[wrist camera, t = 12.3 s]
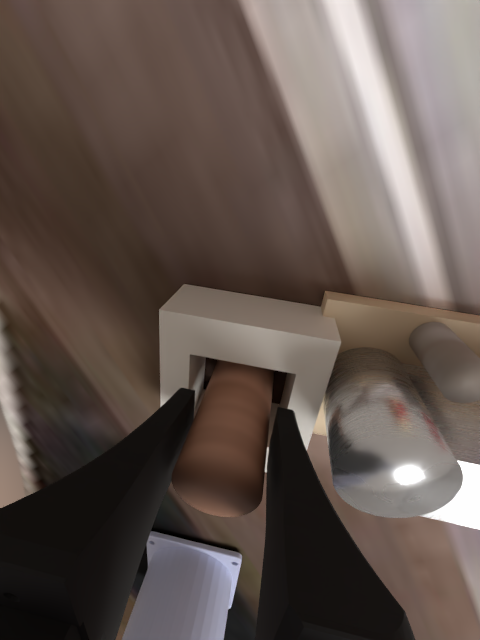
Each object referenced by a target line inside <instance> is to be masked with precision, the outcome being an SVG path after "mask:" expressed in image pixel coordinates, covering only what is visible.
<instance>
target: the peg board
mask: <svg viewBox="0 0 480 640" xmlns="http://www.w3.org/2000/svg"><path fill="white" fill-rule="evenodd" d="M321 310H322V315H323V316H325V317H331V318H335V321H336V325H337V328H338V332H339V335H340V339H341V345H340V348H339V351H338V354H340V353H342V352H344V351H347V350H350V349H354V348H361V347H371V348H377V349H381V350H384V351H387V352H389V353H391V354H392V355H394V356H395V357H396V358H397V359H398V360H399V361H400V362H401V363H405V364H411V365H416V366H422V367H424V368H425V369H426V371H427V372H428V374H429V375H430V377H431V378H432V380H433V381H434V383H435V384H436V386H437V387H438V389H439V390H440V392H441V393H442V394H443V396H444V397H445V398H446V399H448V400H450V401H452V402H456V403H471V402H475V401H478V400H480V316H479V315H473V314H467V313H461V312H455V311H448V310H442V309H436V308H430V307H424V306H418V305H411V304H405V303H399V302H393V301H387V300H380V299H374V298H368V297H362V296H356V295H350V294H343V293H337V292H331V291H325V293H324V297H323V300H322V304H321ZM338 354H337V355H338ZM312 433H315V434H320V435H325V436H327V433H326V425H325V417H324V409H323V401H322V404H321V407H320V410H319V413H318V417H317V420H316V423H315V426H314V429H313V432H312Z"/></svg>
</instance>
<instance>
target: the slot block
mask: <svg viewBox="0 0 480 640" xmlns="http://www.w3.org/2000/svg"><path fill="white" fill-rule="evenodd" d="M159 339H160V398H161V406H162V405H164V404H165V403H166V402H167V401H168V400H169V399H170V398H171V397H172V396H173V395H174V394H175V392H176V391H177V390H178V389H180V388H186V389H191V390H195V404H194V418H195V415H196V413H197V410H198V408H199V405H200V403H201V401H202V398H203V396H204V393H205V391H206V390H205V389H204V375H205V361H206V357H208V358H213V359H218V360H224V361H229V362H234V363H240V364H245V365H250V366H255V367H261V368H266V369H271V370H277V371H282V372H287V376H286V381H285V385H284V389H283V393H282V398H281V402H280V404H275V403H271V412H270V422H269V433H268V443H267V453H266V464H265V472H267V461H268V452H269V443H270V438H271V434H272V429H273V425H274V421H275V416H276V412H277V408H278V407H281V408H286V409H291V410H293V411H294V412H295V417H296V421H297V424H298V428H299V431H300V434H301V437H302V440H303V443H304V446H305V448H306V451H307V448H308V445H309V442H310V438H311V435H312V432H313V429H314V426H315V423H316V420H317V417H318V413H319V410H320V407H321V404H322V401H323V398H324V395H325V392H326V388H327V385H328V382H329V379H330V376H331V373H332V370H333V367H334V363H335V360H336V357H337V354H338V351H339V348H340V345H341V339H340V335H339V332H338V328H337V325H336V321H335V318H331V317H325V316H323V315H322V310H321V307H320V306H314V305H308V304H302V303H296V302H290V301H284V300H278V299H272V298H266V297H260V296H254V295H248V294H242V293H236V292H230V291H224V290H218V289H212V288H206V287H200V286H194V285H188V284H184V285H183V286H182V287H181V288H180V289H179V290H178V291H177V292H176V293H175V294H174V295H173V296H172V297H171V298H170V299H169V300H168V301H167V302H166V303H165V304H164V305H163V306H162V307H161V308H160V309H159Z"/></svg>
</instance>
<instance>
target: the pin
mask: <svg viewBox="0 0 480 640" xmlns="http://www.w3.org/2000/svg"><path fill="white" fill-rule="evenodd" d="M274 371H275V370H271V369H266V368H261V367H255V366H250V365H245V364H240V363H234V362H229V361H224V360H218V361H217V364H216V366H215V369H214V371H213V374H212V376H211V378H210V381H209V383H208V386H207V388H206V391H205V393H204V396H203V398H202V401H201V403H200V405H199V408H198V410H197V413H196V415H195V418H194V420H193V423H192V425H191V428H190V430H189V432H188V435H187V437H186V440H185V442H184V445H183V447H182V450H181V452H180V455H179V457H178V459H177V462H176V464H175V467H174V469H173V472H172V484H173V487H174V489H175V491H176V492H177V494H178V495H179V496H180V497H181V498H182V499H183V500H184V501H185V502H186V503H188V504H189V505H191V506H192V507H194V508H196V509H198V510H200V511H202V512H205V513H208V514H211V515H215V516H222V517H236V516H242V515H245V514H248V513H250V512H252V511H253V510H255V509H256V508H257V507H258V506H259V504H260V502H261V500H262V495H263V484H264V474H265V464H266V453H267V443H268V433H269V422H270V412H271V402H272V391H273V381H274Z"/></svg>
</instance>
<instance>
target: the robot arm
mask: <svg viewBox="0 0 480 640" xmlns="http://www.w3.org/2000/svg"><path fill="white" fill-rule="evenodd" d="M194 404H195V390H191V389H186V388H180V389H178V390H177V391H176V392H175V394H174V395H173V396H172V397H171V398H170V399H169V400H168V401H167V402H166V403H165V404H164V405H162V406H161V407H160V408H159V409H158V410H157V411H156V412H155V413H154V414H153V415H152V416H151V417H149V418H148V419H147V420H146V421H145V422H144V423H143V424H141V425H140V426H139V427H138V428H137V429H135V430H134V431H133V432H132V433H130V434H129V435H128V436H127V437H125V438H124V439H123V440H121V441H120V442H119V443H117V444H116V445H115V446H113V447H112V448H110V449H109V450H108V451H106V452H105V453H103V454H102V455H100V456H99V457H97V458H95V459H94V460H92V461H91V462H89V463H88V464H86V465H85V466H83V467H81V468H80V469H78V470H76V471H74V472H73V473H71V474H69V475H67V476H65V477H64V478H62V479H60V480H58V481H56V482H54V483H53V484H51V485H49V486H47V487H45V488H43V489H41V490H39V491H37V492H35V493H33V494H31V495H29V496H27V497H24V498H22V499H20V500H18V501H16V502H14V503H12V504H9V505H7V506H5V507H3V508H0V640H115V639H116V636H117V633H118V630H119V626H120V623H121V620H122V617H123V614H124V610H125V607H126V604H127V601H128V598H129V595H130V592H131V589H132V586H133V583H134V580H135V576H136V573H137V570H138V567H139V564H140V561H141V559H142V556H143V553H144V550H145V547H146V544H147V559H148V570H147V572H146V575H145V578H144V581H143V583H142V586H141V589H140V591H139V594H138V597H137V600H136V602H135V605H134V608H133V611H132V613H131V616H130V619H129V621H128V624H127V627H126V630H125V632H124V635H123V638H122V640H224V633H225V626H226V620H227V613H228V609H230V608H231V606H232V601H233V597H234V592H235V588H236V584H237V579H238V575H239V570H240V566H241V562H242V555H241V554H240V553H238V552H235V551H231V550H227V549H222V548H218V547H214V546H210V545H206V544H202V543H198V542H194V541H190V540H186V539H182V538H178V537H174V536H170V535H166V534H162V533H158V532H154V531H151V529H152V527H153V524H154V521H155V518H156V515H157V513H158V510H159V508H160V505H161V503H162V500H163V498H164V496H165V494H166V491H167V489H168V487H169V485H170V483H171V480H172V472H173V469H174V467H175V464H176V462H177V459H178V457H179V455H180V452H181V450H182V447H183V445H184V442H185V440H186V437H187V435H188V432H189V430H190V428H191V425H192V423H193V420H194ZM255 640H415V638H414V635H413V632H412V629H411V626H410V624H409V621H408V618H407V616H406V613H405V611H404V610H403V608H402V607H401V606H400V605H399V603H398V602H397V601H396V599H395V598H394V597H393V596H392V594H391V593H390V592H389V590H388V589H387V588H386V586H385V585H384V584H383V582H382V581H381V580H380V578H379V577H378V576H377V574H376V573H375V571H374V570H373V569H372V567H371V566H370V564H369V563H368V562H367V560H366V559H365V557H364V556H363V554H362V553H361V551H360V550H359V548H358V547H357V545H356V544H355V542H354V541H353V539H352V537H351V536H350V534H349V533H348V531H347V530H346V528H345V527H344V525H343V523H342V522H341V520H340V518H339V517H338V515H337V513H336V511H335V510H334V508H333V506H332V504H331V502H330V500H329V499H328V497H327V495H326V493H325V491H324V489H323V487H322V485H321V483H320V481H319V479H318V477H317V474H316V472H315V470H314V468H313V465H312V463H311V461H310V458H309V456H308V453H307V451H306V448H305V446H304V443H303V440H302V437H301V434H300V431H299V428H298V424H297V421H296V417H295V412H294V411H293V410H291V409H286V408H281V407H278V408H277V412H276V416H275V421H274V425H273V429H272V434H271V438H270V443H269V452H268V461H267V492H266V537H265V548H264V559H263V569H262V579H261V589H260V599H259V609H258V618H257V627H256V637H255Z"/></svg>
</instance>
